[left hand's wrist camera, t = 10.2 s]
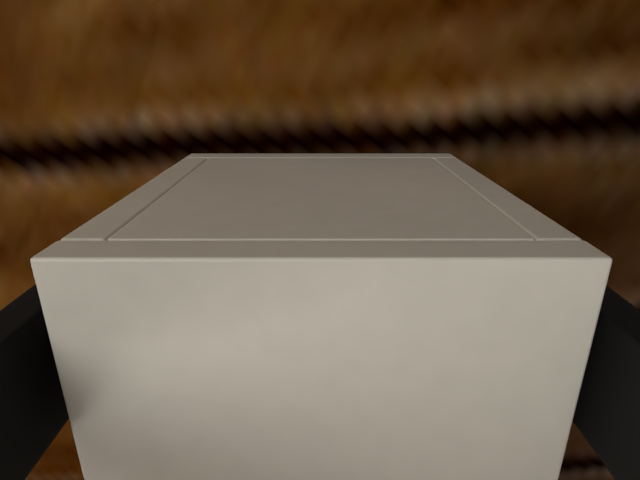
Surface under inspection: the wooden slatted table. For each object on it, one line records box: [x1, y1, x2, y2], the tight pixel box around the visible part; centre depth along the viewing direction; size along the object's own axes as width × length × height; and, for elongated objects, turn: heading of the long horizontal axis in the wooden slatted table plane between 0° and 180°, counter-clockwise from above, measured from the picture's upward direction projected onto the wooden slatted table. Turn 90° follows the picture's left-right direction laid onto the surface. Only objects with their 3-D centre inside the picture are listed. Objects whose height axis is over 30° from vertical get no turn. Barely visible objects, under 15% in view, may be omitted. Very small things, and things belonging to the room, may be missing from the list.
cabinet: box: [30, 154, 612, 480], centre depth 15 cm, size 17×10×10 cm, turn 0°
